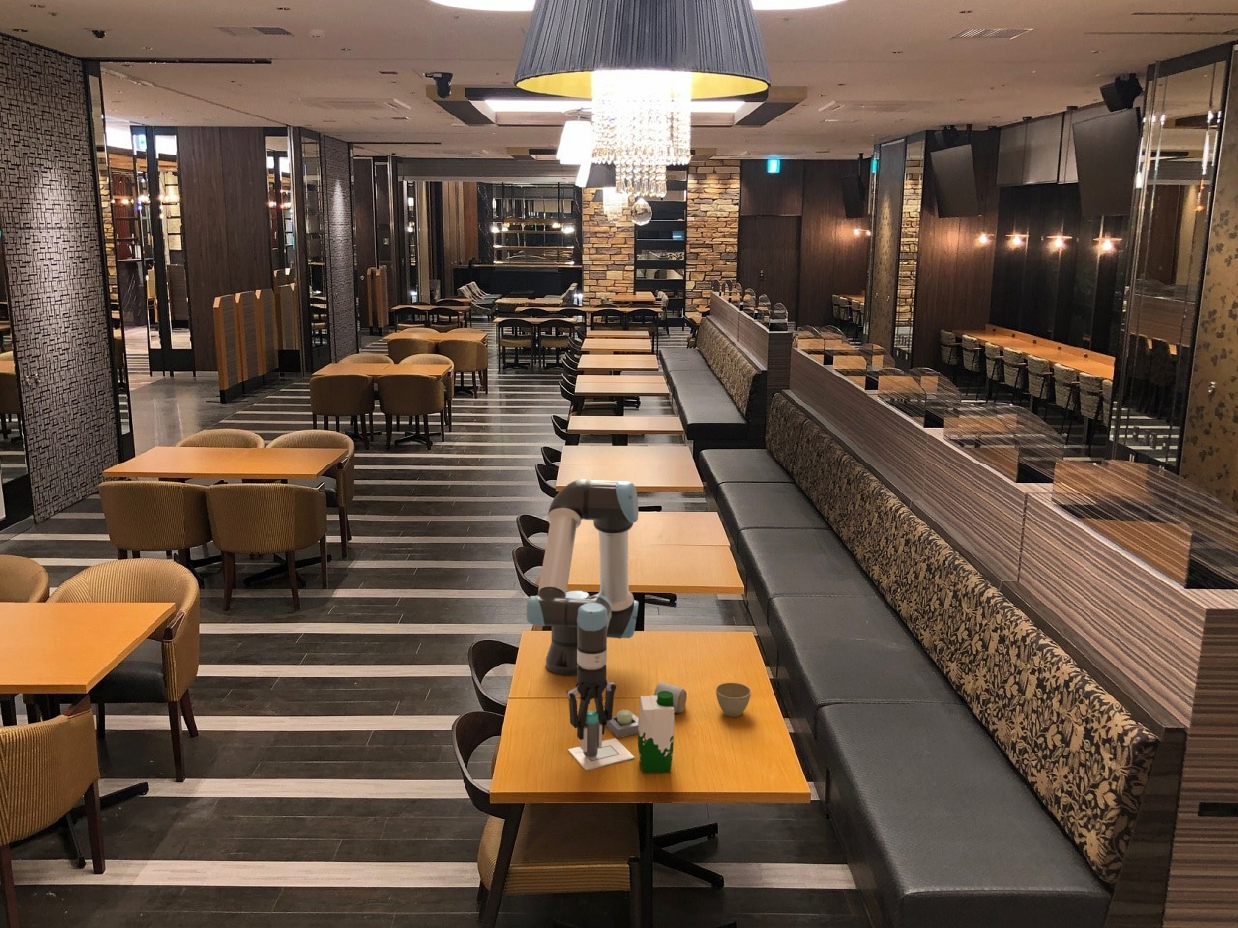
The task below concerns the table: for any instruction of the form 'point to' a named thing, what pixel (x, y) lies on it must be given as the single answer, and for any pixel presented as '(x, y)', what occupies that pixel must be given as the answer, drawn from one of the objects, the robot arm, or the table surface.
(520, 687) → the table surface
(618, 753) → the sheet
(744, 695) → the flower pot
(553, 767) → the table surface
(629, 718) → the button cap
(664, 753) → the milk carton
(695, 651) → the table surface
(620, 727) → the button housing
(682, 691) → the ceramic mug
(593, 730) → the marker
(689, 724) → the table surface
